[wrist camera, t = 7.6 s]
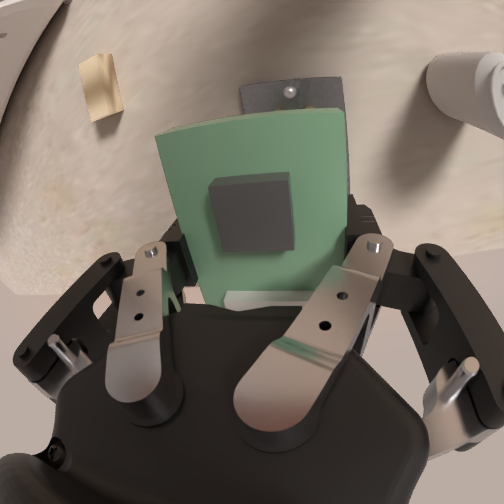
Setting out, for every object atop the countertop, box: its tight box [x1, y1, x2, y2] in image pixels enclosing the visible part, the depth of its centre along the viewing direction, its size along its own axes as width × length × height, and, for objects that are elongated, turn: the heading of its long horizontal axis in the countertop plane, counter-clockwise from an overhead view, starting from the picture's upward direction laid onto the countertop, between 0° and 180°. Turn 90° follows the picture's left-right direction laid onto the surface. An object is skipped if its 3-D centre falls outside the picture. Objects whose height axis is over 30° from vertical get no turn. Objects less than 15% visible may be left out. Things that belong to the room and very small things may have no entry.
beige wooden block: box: [79, 54, 124, 122], centre depth 24 cm, size 8×3×3 cm, turn 9°
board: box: [155, 108, 347, 311], centre depth 11 cm, size 10×6×2 cm, turn 8°
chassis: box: [239, 77, 350, 194], centre depth 24 cm, size 14×10×6 cm
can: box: [426, 52, 504, 139], centre depth 14 cm, size 8×8×12 cm
